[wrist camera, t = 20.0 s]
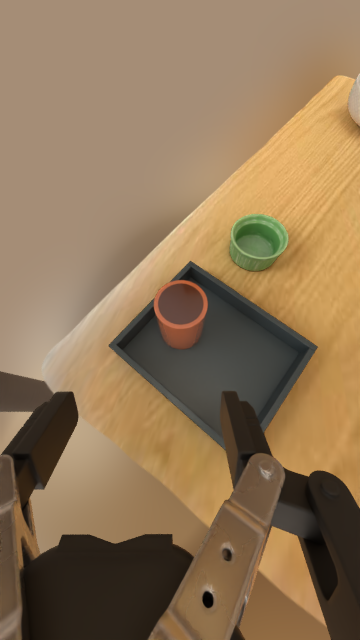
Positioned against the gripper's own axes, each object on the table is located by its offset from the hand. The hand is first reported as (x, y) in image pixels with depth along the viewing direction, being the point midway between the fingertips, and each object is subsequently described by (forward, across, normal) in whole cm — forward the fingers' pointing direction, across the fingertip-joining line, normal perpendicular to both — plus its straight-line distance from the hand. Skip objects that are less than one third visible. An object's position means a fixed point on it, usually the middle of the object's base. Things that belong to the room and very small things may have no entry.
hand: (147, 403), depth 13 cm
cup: (+22, -2, +6) cm, 23 cm away
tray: (+20, -6, +9) cm, 22 cm away
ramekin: (+32, -14, -4) cm, 36 cm away
